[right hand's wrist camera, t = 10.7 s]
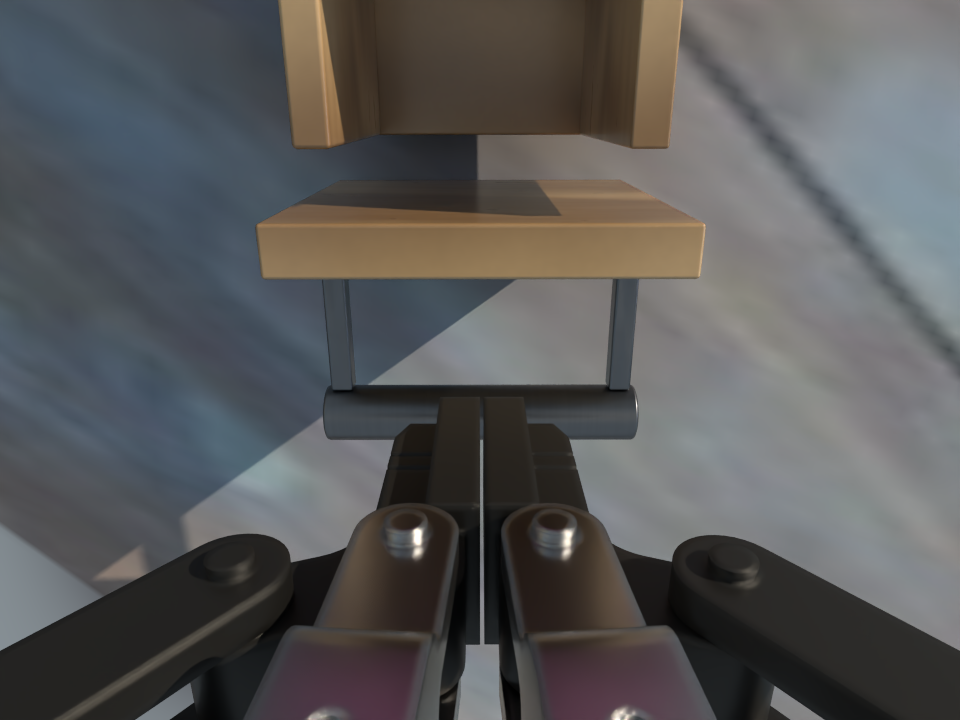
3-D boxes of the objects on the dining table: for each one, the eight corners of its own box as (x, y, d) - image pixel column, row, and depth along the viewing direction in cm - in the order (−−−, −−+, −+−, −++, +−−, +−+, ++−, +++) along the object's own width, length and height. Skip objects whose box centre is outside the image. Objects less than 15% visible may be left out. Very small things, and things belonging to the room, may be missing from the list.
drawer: (608, 369, 24) (674, 504, 16) (352, 370, 24) (287, 504, 16) (661, -360, 17) (829, -794, 9) (298, -360, 17) (129, -792, 9)
